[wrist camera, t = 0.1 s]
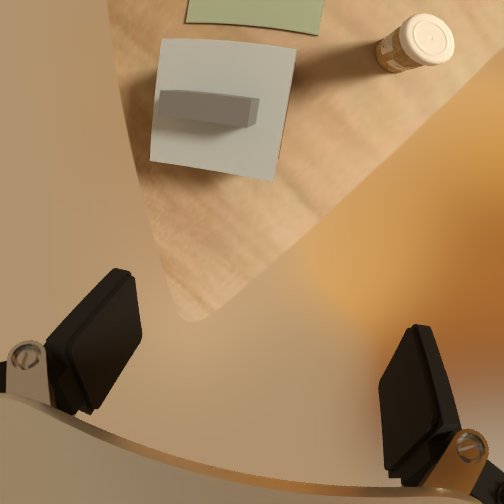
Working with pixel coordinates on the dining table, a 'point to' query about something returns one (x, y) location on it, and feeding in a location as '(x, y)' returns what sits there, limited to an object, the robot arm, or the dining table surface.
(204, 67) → the lid
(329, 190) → the dining table surface
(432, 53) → the sprinkles bottle
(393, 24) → the dining table surface
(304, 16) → the mat
